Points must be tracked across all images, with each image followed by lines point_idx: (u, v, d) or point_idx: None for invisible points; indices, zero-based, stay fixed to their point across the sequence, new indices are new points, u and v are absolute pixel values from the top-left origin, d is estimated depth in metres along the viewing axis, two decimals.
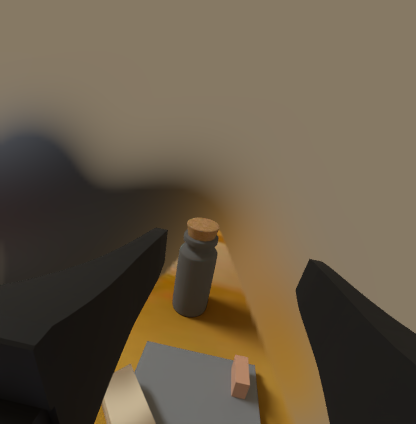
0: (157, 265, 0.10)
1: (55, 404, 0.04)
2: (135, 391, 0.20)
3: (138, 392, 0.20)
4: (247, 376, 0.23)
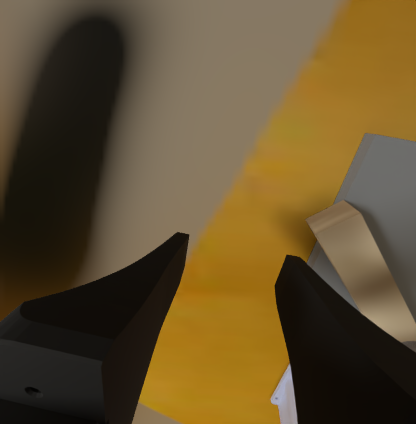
0: (180, 270, 0.10)
1: (109, 417, 0.04)
2: (367, 246, 0.15)
3: (372, 247, 0.15)
4: None
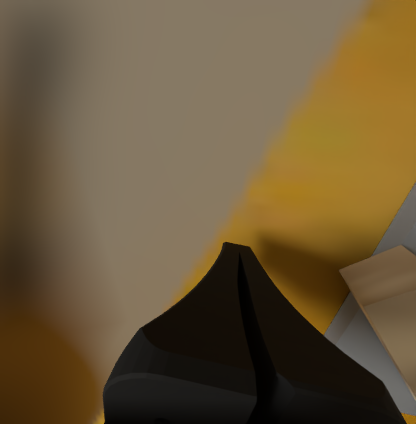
0: None
1: None
2: None
3: None
4: None
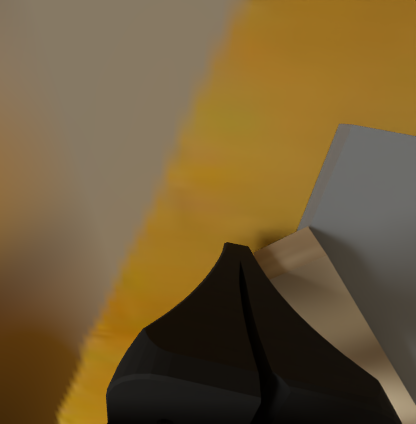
0: None
1: None
2: (341, 305, 0.09)
3: (348, 306, 0.09)
4: None
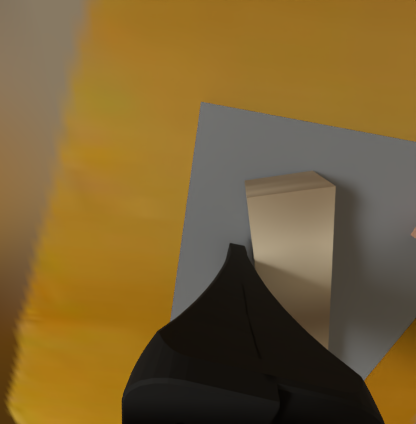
0: None
1: None
2: (318, 253, 0.08)
3: (323, 257, 0.08)
4: None
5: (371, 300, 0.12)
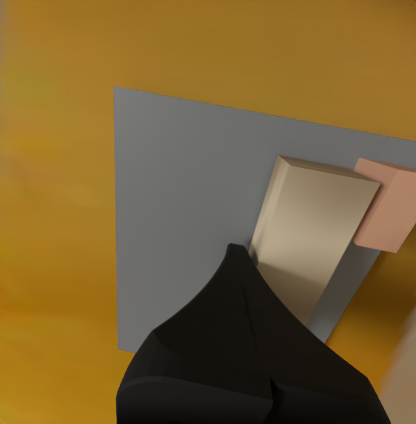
0: None
1: None
2: (332, 246, 0.08)
3: (334, 252, 0.08)
4: (402, 232, 0.08)
5: None
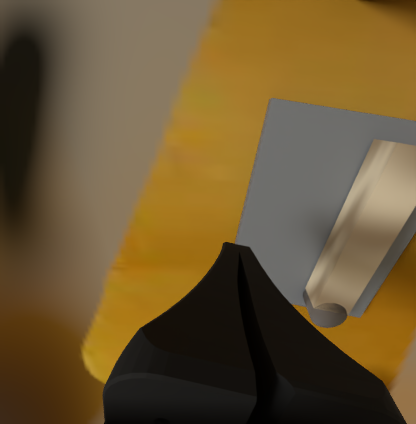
0: None
1: None
2: (414, 192, 0.14)
3: None
4: None
5: None
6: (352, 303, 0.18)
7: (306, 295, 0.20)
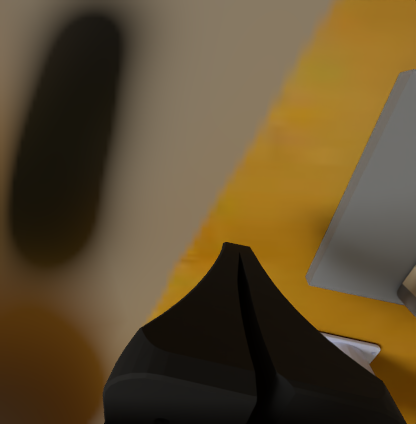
0: None
1: None
2: None
3: None
4: None
5: None
6: None
7: (406, 291, 0.19)
